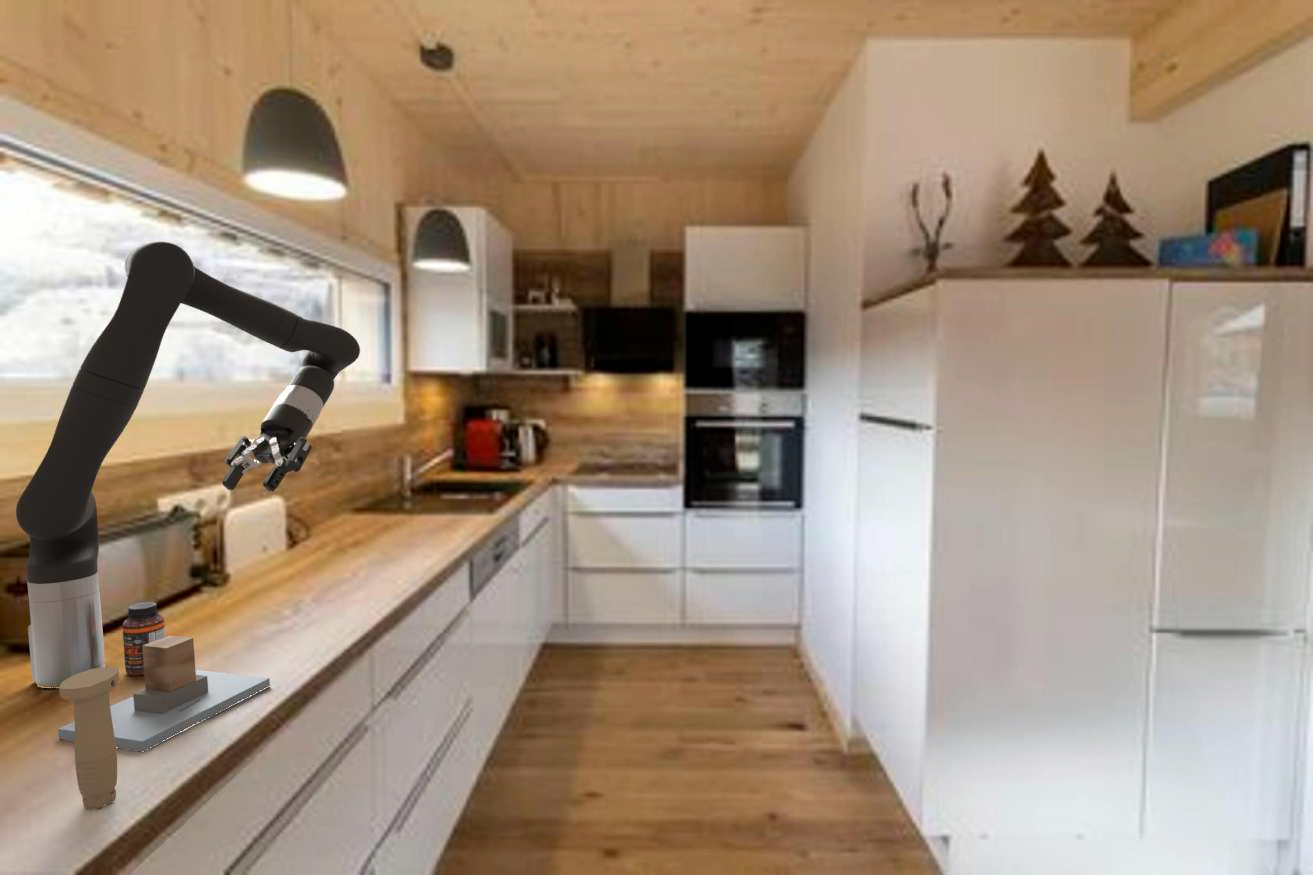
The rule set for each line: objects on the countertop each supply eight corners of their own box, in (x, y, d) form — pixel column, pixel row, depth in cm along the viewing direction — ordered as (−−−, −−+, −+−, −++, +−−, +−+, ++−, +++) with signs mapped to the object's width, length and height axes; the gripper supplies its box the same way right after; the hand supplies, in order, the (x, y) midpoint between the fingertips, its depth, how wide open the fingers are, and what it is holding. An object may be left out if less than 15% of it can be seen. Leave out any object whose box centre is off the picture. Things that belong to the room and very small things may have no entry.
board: (59, 739, 107) (58, 728, 107) (195, 678, 128) (194, 669, 128) (143, 752, 102) (142, 741, 102) (270, 687, 123) (269, 677, 123)
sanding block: (134, 710, 112) (129, 649, 111) (182, 688, 120) (178, 631, 119) (161, 714, 111) (156, 652, 110) (208, 691, 118) (204, 634, 117)
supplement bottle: (116, 676, 129) (111, 609, 128) (144, 663, 135) (139, 599, 134) (148, 677, 129) (143, 610, 128) (175, 664, 134) (171, 600, 134)
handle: (137, 787, 93) (128, 665, 92) (105, 817, 87) (95, 687, 86) (94, 790, 93) (84, 668, 92) (59, 820, 87) (48, 690, 85)
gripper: (249, 402, 140) (199, 473, 130) (314, 401, 136) (268, 475, 126) (273, 429, 146) (227, 500, 136) (336, 429, 142) (294, 502, 132)
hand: (247, 488), depth 131 cm, fingers open, 8 cm apart
